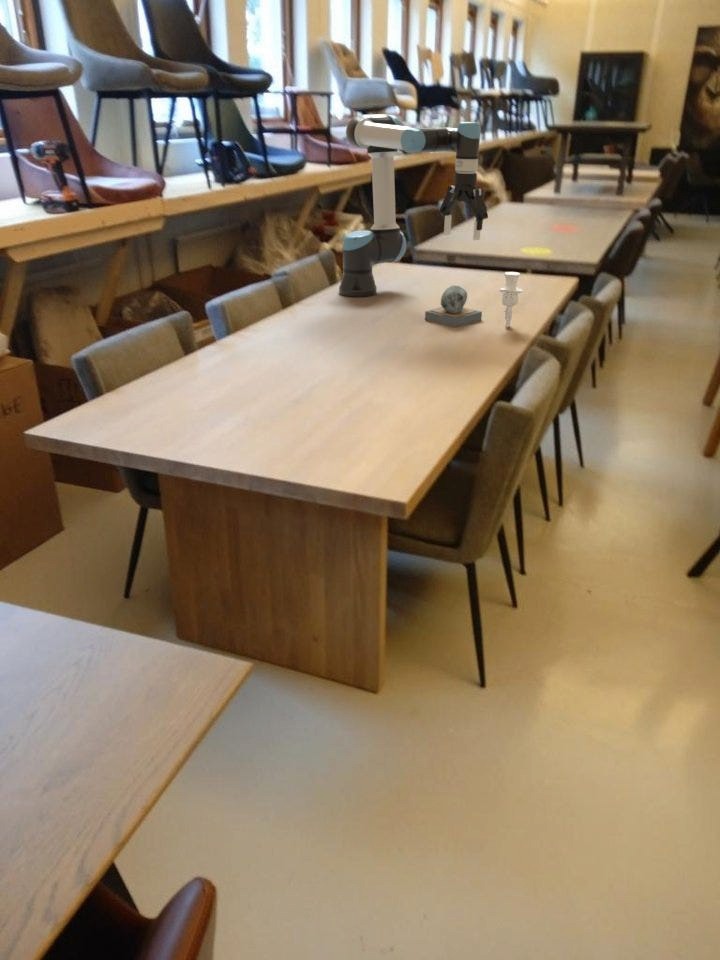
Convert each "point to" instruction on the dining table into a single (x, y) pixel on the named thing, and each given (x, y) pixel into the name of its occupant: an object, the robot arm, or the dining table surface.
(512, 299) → the figurine
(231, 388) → the dining table surface
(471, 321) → the stand
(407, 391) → the dining table surface
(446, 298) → the grey streaked ellipsoid
